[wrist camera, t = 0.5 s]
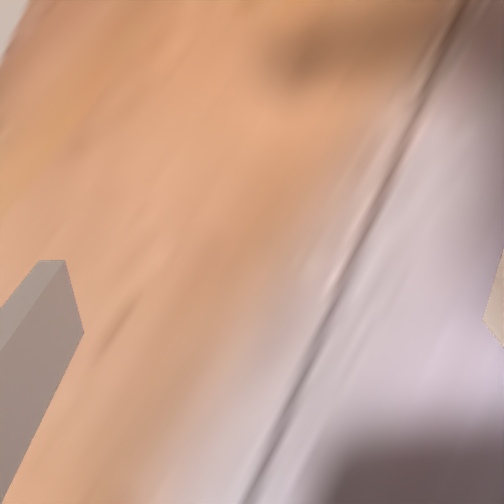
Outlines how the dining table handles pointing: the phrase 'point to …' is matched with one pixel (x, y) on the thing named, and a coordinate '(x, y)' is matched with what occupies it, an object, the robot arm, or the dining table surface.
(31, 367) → the robot arm
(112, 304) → the dining table surface
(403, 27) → the dining table surface
